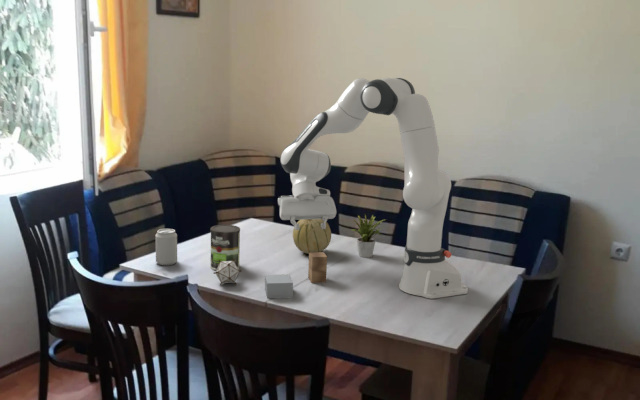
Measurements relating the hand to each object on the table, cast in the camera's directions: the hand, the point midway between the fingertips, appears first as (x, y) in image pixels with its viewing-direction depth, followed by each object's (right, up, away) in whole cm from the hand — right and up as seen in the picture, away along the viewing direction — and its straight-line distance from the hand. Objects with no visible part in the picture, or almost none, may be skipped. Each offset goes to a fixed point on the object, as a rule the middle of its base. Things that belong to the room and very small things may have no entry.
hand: (310, 228), depth 224 cm
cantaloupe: (0, -10, +21) cm, 24 cm away
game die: (-27, -17, -15) cm, 35 cm away
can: (-51, -13, +4) cm, 53 cm away
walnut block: (+2, -17, -8) cm, 19 cm away
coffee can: (-30, -14, +2) cm, 33 cm away
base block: (-10, -20, -21) cm, 31 cm away
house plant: (+21, -12, +20) cm, 31 cm away
